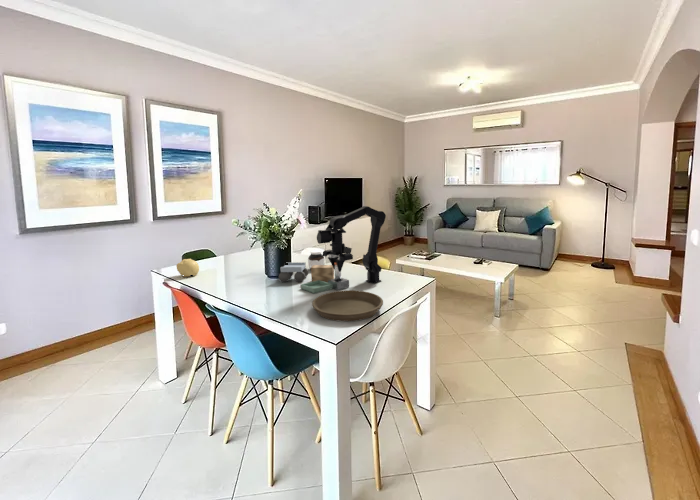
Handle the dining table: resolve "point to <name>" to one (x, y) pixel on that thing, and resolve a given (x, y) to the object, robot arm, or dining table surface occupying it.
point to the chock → (322, 272)
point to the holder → (339, 284)
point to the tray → (316, 286)
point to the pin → (337, 273)
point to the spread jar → (316, 258)
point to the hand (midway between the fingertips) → (337, 270)
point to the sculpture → (188, 267)
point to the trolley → (291, 268)
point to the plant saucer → (347, 305)
